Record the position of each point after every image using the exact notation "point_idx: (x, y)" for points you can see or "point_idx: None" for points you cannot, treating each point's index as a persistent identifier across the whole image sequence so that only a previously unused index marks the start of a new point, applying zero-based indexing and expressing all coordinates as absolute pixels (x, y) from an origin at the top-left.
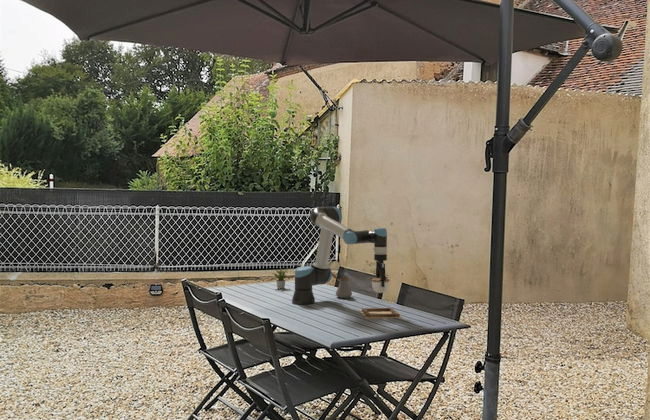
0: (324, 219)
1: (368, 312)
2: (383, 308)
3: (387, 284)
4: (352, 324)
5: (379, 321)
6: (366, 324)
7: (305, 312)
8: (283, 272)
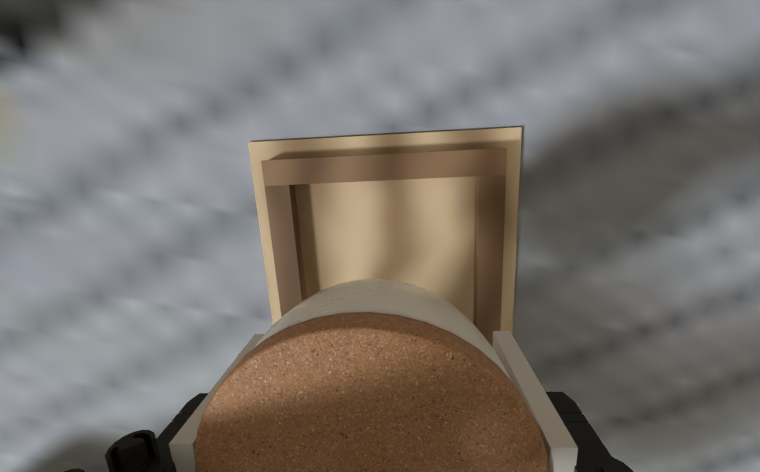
0: None
1: None
2: (290, 231)
3: (483, 340)
4: (643, 457)
5: (600, 304)
6: (663, 389)
7: None
8: None
